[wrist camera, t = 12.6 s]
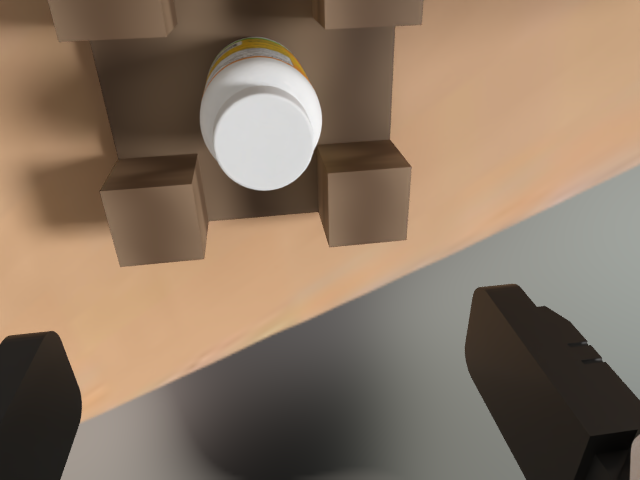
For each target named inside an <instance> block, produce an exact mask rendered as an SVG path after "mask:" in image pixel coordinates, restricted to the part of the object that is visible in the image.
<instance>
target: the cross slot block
mask: <svg viewBox="0 0 640 480" xmlns="http://www.w3.org/2000/svg"><path fill="white" fill-rule="evenodd" d="M48 4H49V7H50V11H51V15H52V18H53V22H54V26H55V29H56V33H57V37H58V40H59V42H70V41H90V44H91V48H92V52H93V56H94V60H95V65H96V69H97V73H98V77H99V81H100V85H101V89H102V93H103V97H104V102H105V106H106V110H107V114H108V118H109V122H110V126H111V130H112V135H113V139H114V143H115V147H116V151H117V155H118V161H117V162H116V164H115V166H114V168H113V169H112V171H111V173H110V174H109V176H108V178H107V180H106V181H105V183H104V185H103V187H102V188H101V190H100V195H101V198H102V202H103V206H104V209H105V213H106V217H107V220H108V224H109V228H110V231H111V235H112V239H113V242H114V246H115V250H116V253H117V257H118V261H119V264H120V267H125V266H136V265H146V264H157V263H168V262H178V261H189V260H200V259H204V257H205V248H206V239H207V231H208V222H209V221H217V220H229V219H241V218H252V217H264V216H275V215H287V214H298V213H310V212H319V215H320V218H321V221H322V225H323V228H324V231H325V235H326V238H327V241H328V244H329V247H338V246H348V245H359V244H369V243H380V242H391V241H401V240H406V238H407V224H408V210H409V196H410V182H411V168H412V167H411V166H410V164H409V163H408V162H407V161H406V159H405V158H404V157H403V156H402V154H401V153H400V152H399V150H398V149H397V148H396V147H395V145H394V144H393V143H392V142H391V140H390V125H391V103H392V81H393V59H394V38H395V26H406V25H422V13H423V0H48ZM248 37H262V38H266V39H270V40H273V41H275V42H277V43H279V44H281V45H283V46H284V47H286V48H287V49H288V50H289V51H290V52H291V53H292V54H293V55H294V56H295V57H296V59H297V60H298V62H299V63H300V65H301V67H302V68H303V70H304V72H305V74H306V76H307V77H308V79H309V81H310V83H311V85H312V87H313V88H314V90H315V92H316V95H317V97H318V100H319V103H320V107H321V113H322V127H321V134H320V137H319V140H318V143H317V145H316V147H315V149H314V151H313V155H312V158H311V160H310V163H309V165H308V166H307V168H306V169H305V171H304V172H303V173H302V174H301V175H300V176H299V177H298V178H297V179H296V180H295V181H293V182H292V183H290V184H288V185H286V186H284V187H282V188H278V189H275V190H266V191H262V190H254V189H250V188H246V187H244V186H242V185H240V184H238V183H236V182H235V181H233V180H232V179H231V178H229V177H228V176H227V175H226V174H225V173H224V171H223V170H222V169H221V167H220V165H219V164H218V162H217V160H216V159H215V158H214V157H213V156H212V154H211V153H210V151H209V150H208V148H207V146H206V144H205V142H204V139H203V136H202V132H201V127H200V107H201V101H202V97H203V93H204V89H205V85H206V80H207V76H208V73H209V70H210V67H211V65H212V63H213V61H214V60H215V58H216V57H217V55H218V54H219V53H220V52H221V51H222V50H223V49H224V48H225V47H226V46H228V45H229V44H231V43H233V42H235V41H237V40H240V39H243V38H248Z"/></svg>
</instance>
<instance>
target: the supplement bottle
mask: <svg viewBox="0 0 640 480" xmlns="http://www.w3.org/2000/svg"><path fill="white" fill-rule="evenodd" d="M200 127H201V132H202V136H203V139H204V142H205V144H206V146H207V148H208V150H209V151H210V153H211V154H212V156H213V157H214V158H215V159H216V160H217V162H218V164H219V165H220V167H221V169H222V170H223V171H224V173H225V174H226V175H227V176H228V177H229V178H231V179H232V180H233V181H235V182H236V183H238V184H240V185H242V186H244V187H246V188H250V189H254V190H262V191H266V190H275V189H278V188H282V187H284V186H286V185H288V184H290V183H292V182H293V181H295V180H296V179H297V178H298V177H299V176H300V175H301V174H302V173H303V172H304V171H305V169H306V168H307V166H308V165H309V163H310V160H311V158H312V155H313V151H314V149H315V147H316V145H317V143H318V140H319V137H320V134H321V127H322V113H321V107H320V103H319V100H318V97H317V95H316V92H315V90H314V88H313V87H312V85H311V83H310V81H309V79H308V77H307V76H306V74H305V72H304V70H303V68H302V67H301V65H300V63H299V62H298V60H297V59H296V57H295V56H294V55H293V54H292V53H291V52H290V51H289V50H288V49H287V48H286V47H284V46H283V45H281V44H279V43H277V42H275V41H273V40H270V39H266V38H262V37H248V38H243V39H240V40H237V41H235V42H233V43H231V44H229V45H228V46H226V47H225V48H224V49H223V50H222V51H221V52H220V53H219V54H218V55H217V57H216V58H215V60H214V61H213V63H212V65H211V67H210V70H209V73H208V76H207V80H206V85H205V89H204V93H203V97H202V101H201V107H200Z"/></svg>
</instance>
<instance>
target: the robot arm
mask: <svg viewBox="0 0 640 480" xmlns="http://www.w3.org/2000/svg"><path fill="white" fill-rule="evenodd" d="M465 358H466V363H467V367H468V371H469V373H470V375H471V378H472V380H473V381H474V383H475V385H476V387H477V389H478V391H479V393H480V394H481V396H482V398H483V400H484V402H485V403H486V406H487V407H488V409H489V411H490V413H491V415H492V417H493V419H494V420H495V422H496V424H497V426H498V428H499V430H500V432H501V433H502V435H503V437H504V439H505V441H506V443H507V445H508V446H509V448H510V450H511V452H512V454H513V455H514V458H515V459H516V461H517V463H518V465H519V467H520V469H521V471H522V472H523V474H524V476H525V478H526V480H640V400H639V399H638V398H637V397H636V396H635V395H634V394H633V392H632V391H631V390H630V389H629V388H628V387H627V385H626V384H625V383H624V382H622V380H621V379H620V378H619V376H618V375H617V374H616V373H615V372H614V371H613V370H612V369H611V367H610V366H609V365H608V364H607V363H606V362H603V361H602V357H601V356H600V355H599V354H598V353H597V352H596V350H594V348H593V347H592V346H591V345H589V346H588V344H587V340H586V339H585V338H584V337H583V336H582V335H581V334H580V333H579V331H578V330H577V329H576V328H575V327H574V326H573V325H572V323H571V322H570V321H568V320H567V319H565V318H563V317H562V316H560V315H559V314H557V313H555V312H554V311H552V310H551V309H549V308H547V307H546V306H541V307H536V305H535V304H534V303H533V302H532V301H531V299H530V298H529V297H528V296H527V295H526V294H525V292H524V291H523V290H522V289H521V288H520V286H518V285H516V284H506V285H497V286H488V287H479V288H477V289H476V290H475V291H474V294H473V299H472V305H471V311H470V318H469V324H468V330H467V336H466V343H465ZM81 411H82V400H81V393H80V389H79V386H78V384H77V381H76V378H75V376H74V373H73V370H72V368H71V365H70V363H69V360H68V357H67V355H66V352H65V349H64V347H63V344H62V341H61V339H60V337H59V335H58V334H57V333H56V332H54V331H48V332H39V333H29V334H20V335H11V336H8V337H6V338H5V339H4V340H3V341H2V343H1V344H0V480H60V479H61V476H62V473H63V470H64V467H65V464H66V462H67V459H68V456H69V453H70V450H71V447H72V444H73V441H74V438H75V435H76V432H77V429H78V426H79V423H80V419H81Z"/></svg>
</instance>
